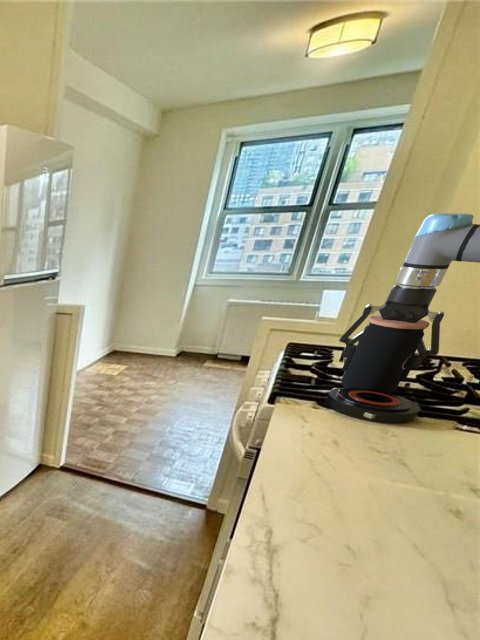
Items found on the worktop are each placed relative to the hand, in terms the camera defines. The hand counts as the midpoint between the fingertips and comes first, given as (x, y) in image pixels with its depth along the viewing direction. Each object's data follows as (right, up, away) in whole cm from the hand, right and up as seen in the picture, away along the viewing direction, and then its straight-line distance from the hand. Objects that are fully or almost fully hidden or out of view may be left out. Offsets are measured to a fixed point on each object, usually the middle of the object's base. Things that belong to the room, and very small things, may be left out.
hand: (372, 374), depth 125 cm
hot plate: (-10, -10, -9) cm, 17 cm away
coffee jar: (0, -4, +2) cm, 4 cm away
